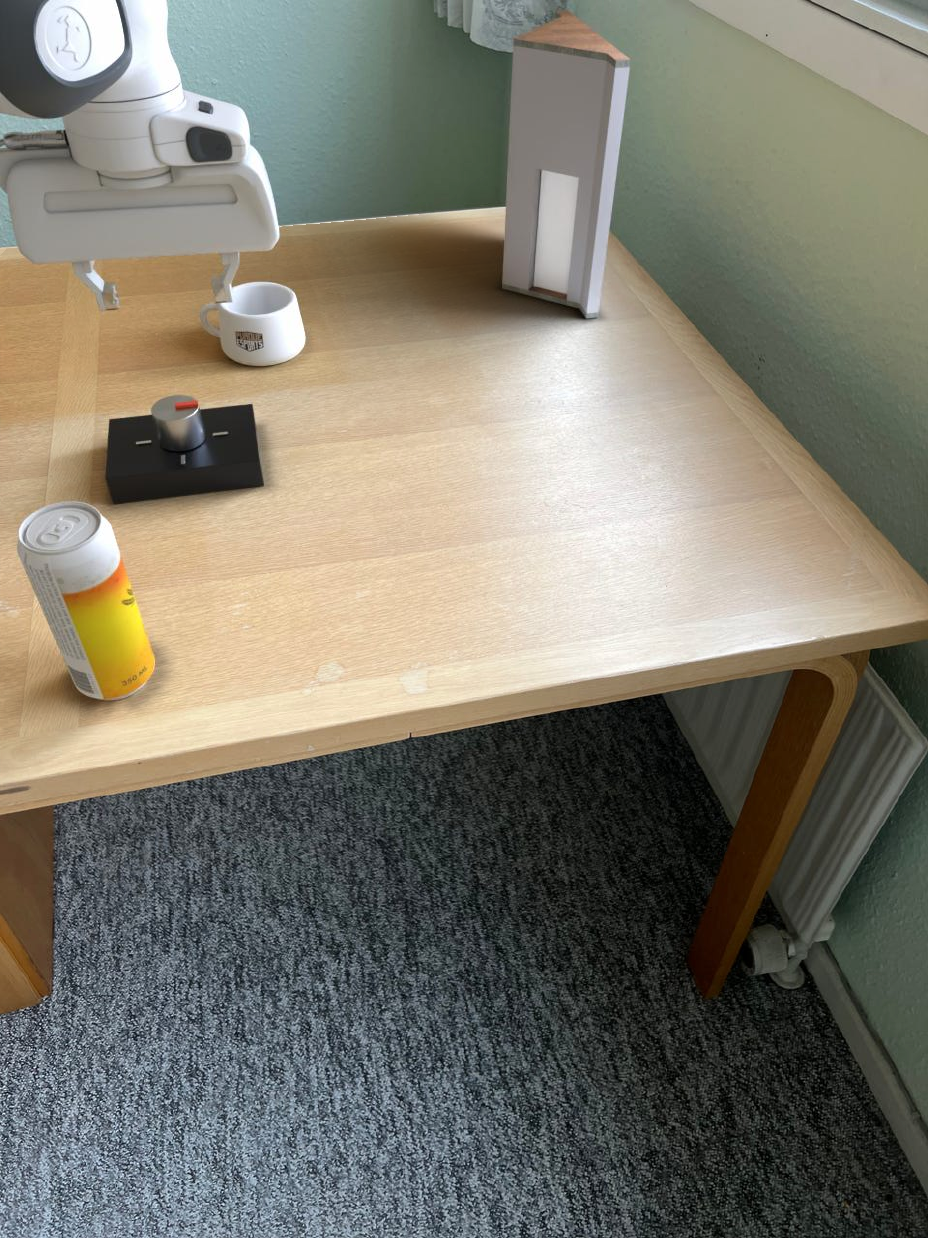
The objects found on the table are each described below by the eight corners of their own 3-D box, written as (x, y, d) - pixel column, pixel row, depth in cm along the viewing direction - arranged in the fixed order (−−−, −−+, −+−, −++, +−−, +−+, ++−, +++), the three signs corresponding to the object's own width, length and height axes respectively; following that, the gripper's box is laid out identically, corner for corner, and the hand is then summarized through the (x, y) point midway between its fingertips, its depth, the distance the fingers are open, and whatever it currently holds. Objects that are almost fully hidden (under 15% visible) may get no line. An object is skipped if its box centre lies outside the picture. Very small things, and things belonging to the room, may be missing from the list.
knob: (158, 454, 87) (149, 419, 84) (158, 428, 90) (150, 394, 87) (206, 448, 88) (199, 414, 85) (204, 423, 91) (197, 389, 88)
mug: (315, 330, 110) (310, 282, 106) (294, 372, 103) (288, 322, 99) (217, 322, 111) (208, 274, 107) (191, 363, 104) (180, 313, 100)
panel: (113, 504, 86) (104, 477, 84) (116, 444, 93) (108, 417, 91) (264, 485, 89) (259, 458, 86) (256, 428, 96) (252, 401, 93)
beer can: (172, 658, 73) (126, 508, 62) (128, 715, 69) (71, 565, 58) (106, 639, 74) (50, 489, 63) (59, 693, 70) (-9, 543, 59)
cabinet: (598, 317, 114) (630, 59, 94) (523, 324, 112) (540, 64, 92) (548, 246, 128) (567, 10, 108) (481, 252, 126) (488, 13, 106)
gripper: (-28, 148, 65) (34, 330, 75) (266, 135, 68) (288, 313, 77) (-12, 119, 69) (45, 294, 79) (264, 108, 72) (285, 279, 82)
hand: (167, 303), depth 78 cm, fingers open, 8 cm apart
